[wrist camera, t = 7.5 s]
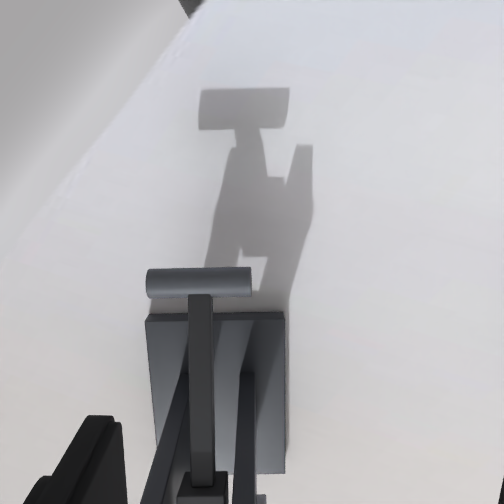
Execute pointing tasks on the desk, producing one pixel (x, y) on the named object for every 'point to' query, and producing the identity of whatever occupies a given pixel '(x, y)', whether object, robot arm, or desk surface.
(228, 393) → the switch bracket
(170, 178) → the desk surface
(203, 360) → the switch lever
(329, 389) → the desk surface
